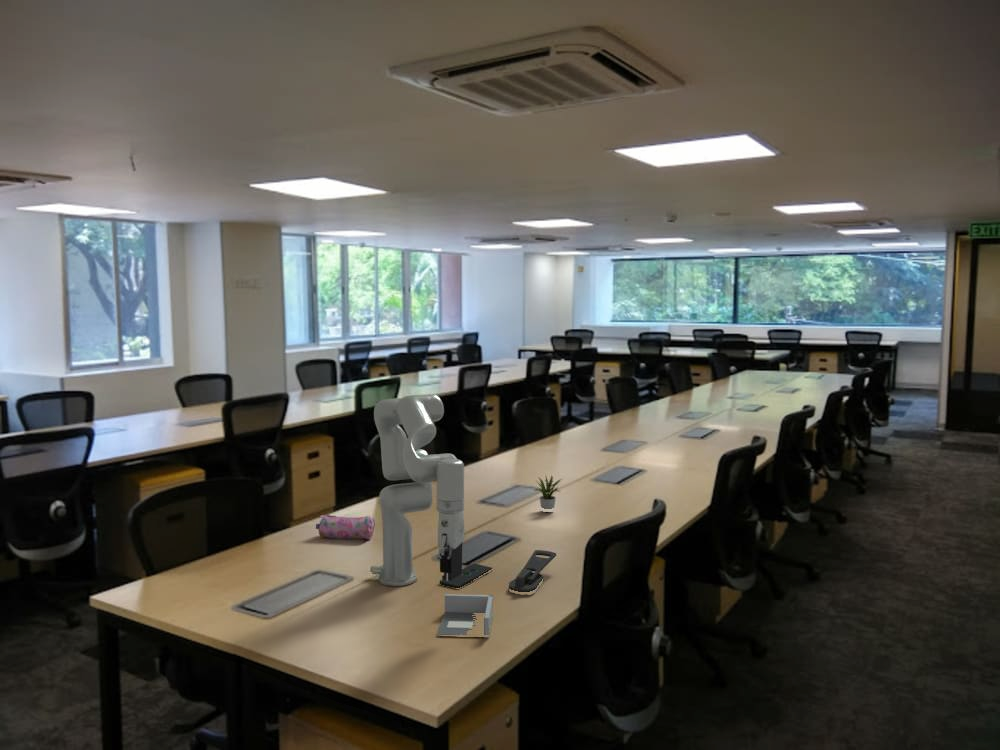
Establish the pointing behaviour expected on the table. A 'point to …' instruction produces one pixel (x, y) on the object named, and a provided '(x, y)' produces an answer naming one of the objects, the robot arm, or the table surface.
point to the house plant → (547, 493)
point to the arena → (465, 613)
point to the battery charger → (454, 563)
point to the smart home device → (466, 575)
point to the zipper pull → (526, 577)
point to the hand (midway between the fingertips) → (450, 567)
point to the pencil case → (346, 527)
